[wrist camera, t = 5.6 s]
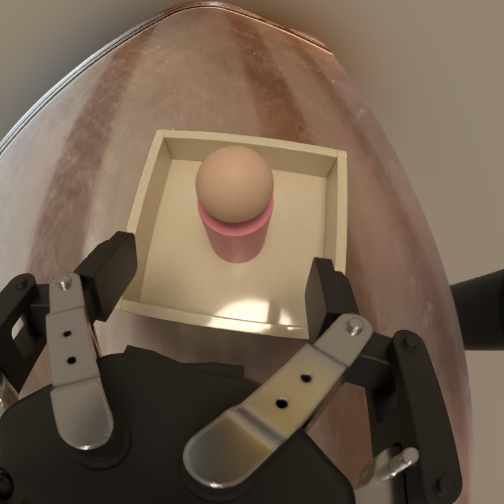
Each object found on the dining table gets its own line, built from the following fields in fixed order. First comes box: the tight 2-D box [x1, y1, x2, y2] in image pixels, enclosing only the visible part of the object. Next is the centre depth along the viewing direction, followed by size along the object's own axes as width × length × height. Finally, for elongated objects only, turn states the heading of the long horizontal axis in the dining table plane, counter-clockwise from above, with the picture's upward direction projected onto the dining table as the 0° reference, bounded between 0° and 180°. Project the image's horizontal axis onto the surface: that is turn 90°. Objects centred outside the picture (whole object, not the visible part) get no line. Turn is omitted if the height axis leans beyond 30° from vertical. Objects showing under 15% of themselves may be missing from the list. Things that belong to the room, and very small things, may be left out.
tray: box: [114, 130, 347, 340], centre depth 22 cm, size 16×15×4 cm
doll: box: [195, 145, 274, 263], centre depth 18 cm, size 4×4×11 cm
